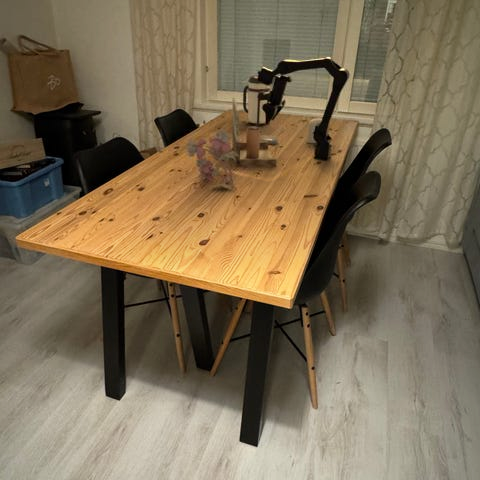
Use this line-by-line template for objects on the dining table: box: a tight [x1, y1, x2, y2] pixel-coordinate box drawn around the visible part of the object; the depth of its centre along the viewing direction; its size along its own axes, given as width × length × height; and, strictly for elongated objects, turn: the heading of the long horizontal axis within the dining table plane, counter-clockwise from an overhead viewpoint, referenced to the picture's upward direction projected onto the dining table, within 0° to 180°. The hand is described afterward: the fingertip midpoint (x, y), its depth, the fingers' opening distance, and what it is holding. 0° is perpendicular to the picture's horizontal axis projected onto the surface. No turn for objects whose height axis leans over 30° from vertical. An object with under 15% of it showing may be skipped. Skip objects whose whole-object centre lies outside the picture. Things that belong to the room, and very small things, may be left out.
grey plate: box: [260, 134, 279, 146], centre depth 209 cm, size 12×12×2 cm
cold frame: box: [232, 96, 278, 168], centre depth 181 cm, size 18×28×25 cm, turn 4°
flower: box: [181, 128, 240, 192], centre depth 154 cm, size 20×22×25 cm
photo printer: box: [306, 117, 323, 144], centre depth 208 cm, size 10×4×12 cm, turn 98°
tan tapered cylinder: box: [246, 125, 261, 159], centre depth 183 cm, size 6×6×13 cm
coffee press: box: [242, 70, 271, 128], centre depth 236 cm, size 17×16×30 cm
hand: (269, 122), depth 190 cm, fingers open, 9 cm apart
